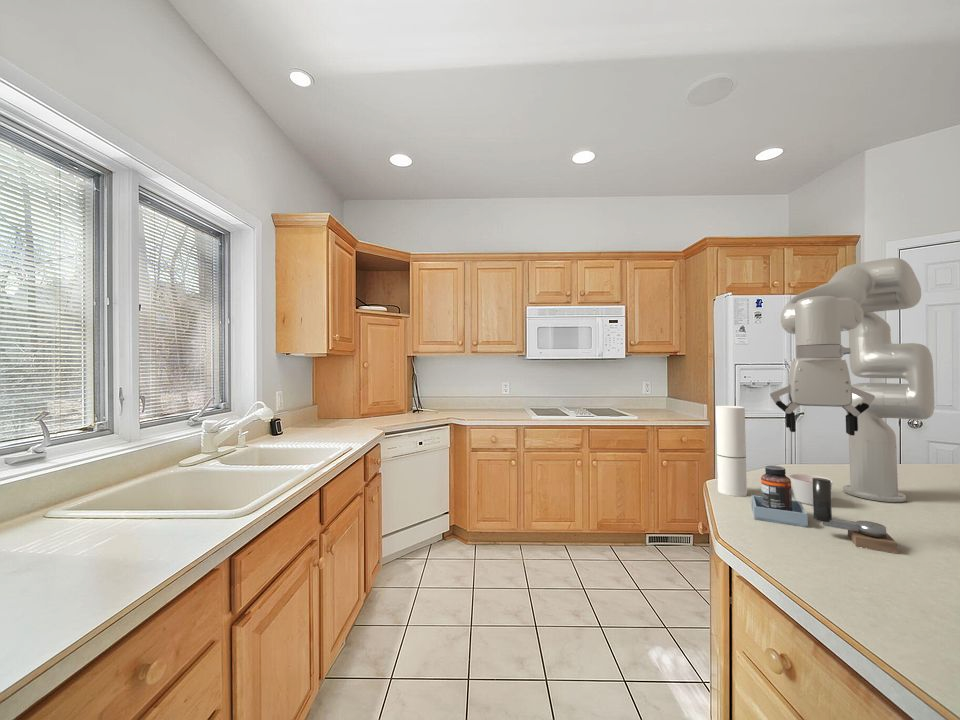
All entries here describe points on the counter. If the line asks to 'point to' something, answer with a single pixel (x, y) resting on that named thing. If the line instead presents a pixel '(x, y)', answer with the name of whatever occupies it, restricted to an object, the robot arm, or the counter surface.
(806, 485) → the white bowl
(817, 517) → the crank
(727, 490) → the cylindrical container
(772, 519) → the tray
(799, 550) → the counter surface
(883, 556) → the counter surface
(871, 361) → the robot arm
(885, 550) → the crank base
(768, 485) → the supplement bottle
